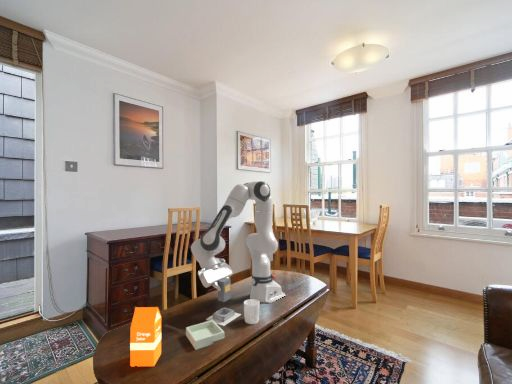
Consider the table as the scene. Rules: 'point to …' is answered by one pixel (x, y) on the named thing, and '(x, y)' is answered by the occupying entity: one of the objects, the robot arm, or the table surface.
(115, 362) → the table surface
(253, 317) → the white cup
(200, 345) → the sage tray
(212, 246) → the robot arm
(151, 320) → the orange juice
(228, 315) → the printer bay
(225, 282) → the gray rectangular block
